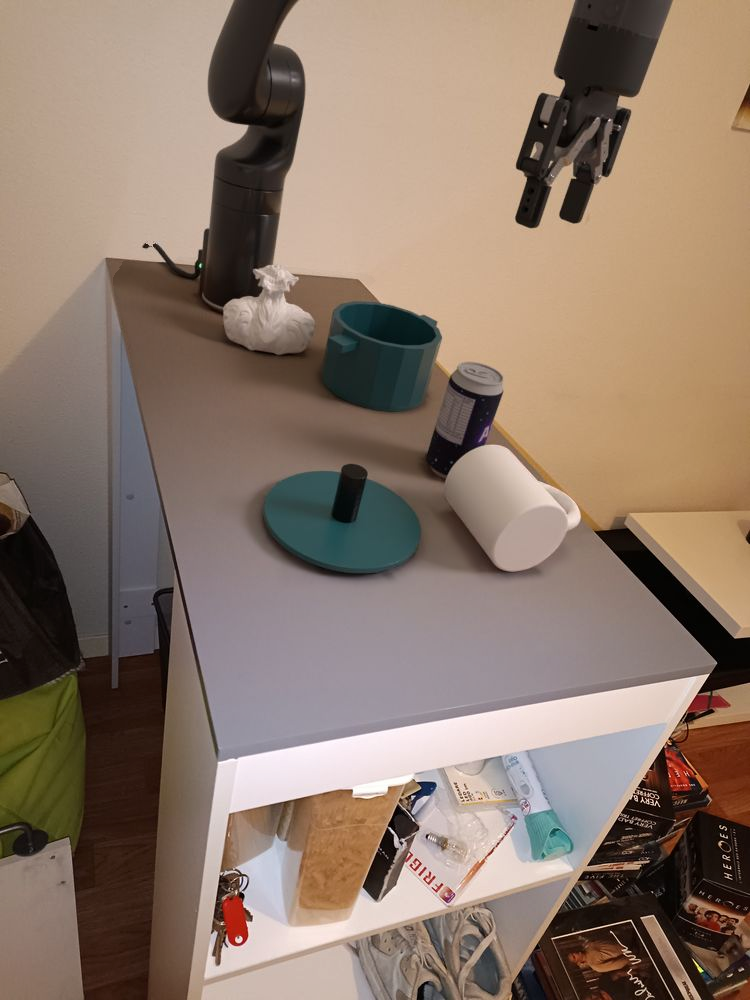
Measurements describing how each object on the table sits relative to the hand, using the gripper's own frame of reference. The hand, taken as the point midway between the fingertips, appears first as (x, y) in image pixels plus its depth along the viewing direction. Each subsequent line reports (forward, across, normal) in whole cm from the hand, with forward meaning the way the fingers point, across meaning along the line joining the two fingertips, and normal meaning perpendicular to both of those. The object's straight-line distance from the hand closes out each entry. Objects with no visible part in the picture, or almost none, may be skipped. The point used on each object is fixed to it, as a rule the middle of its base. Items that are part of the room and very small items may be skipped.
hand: (548, 223), depth 69 cm
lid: (+26, +22, 0) cm, 34 cm away
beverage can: (+27, +4, 0) cm, 27 cm away
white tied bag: (+27, +1, -33) cm, 43 cm away
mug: (+27, +8, +11) cm, 30 cm away
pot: (+27, -4, -18) cm, 33 cm away
